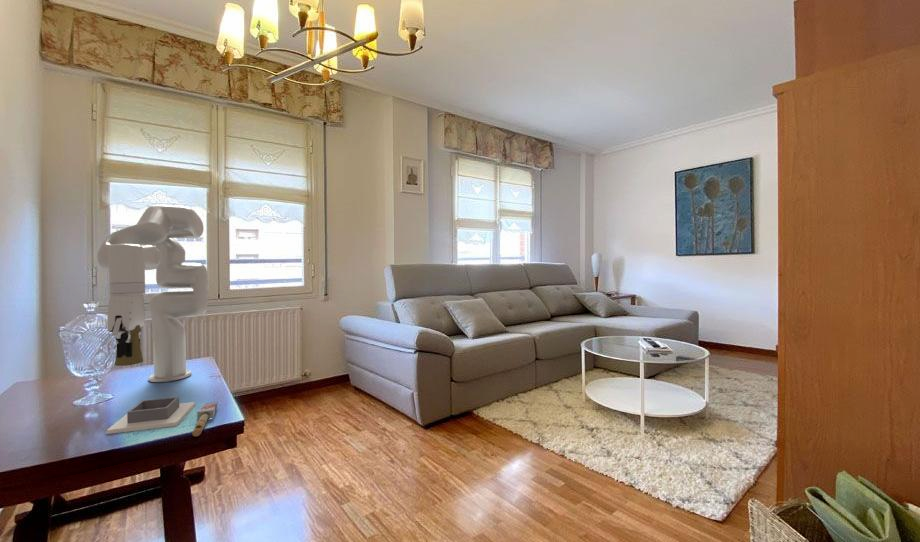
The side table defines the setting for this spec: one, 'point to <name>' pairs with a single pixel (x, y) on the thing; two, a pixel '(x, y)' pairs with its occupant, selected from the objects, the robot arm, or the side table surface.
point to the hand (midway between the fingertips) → (129, 354)
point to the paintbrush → (204, 417)
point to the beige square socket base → (152, 415)
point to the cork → (136, 350)
